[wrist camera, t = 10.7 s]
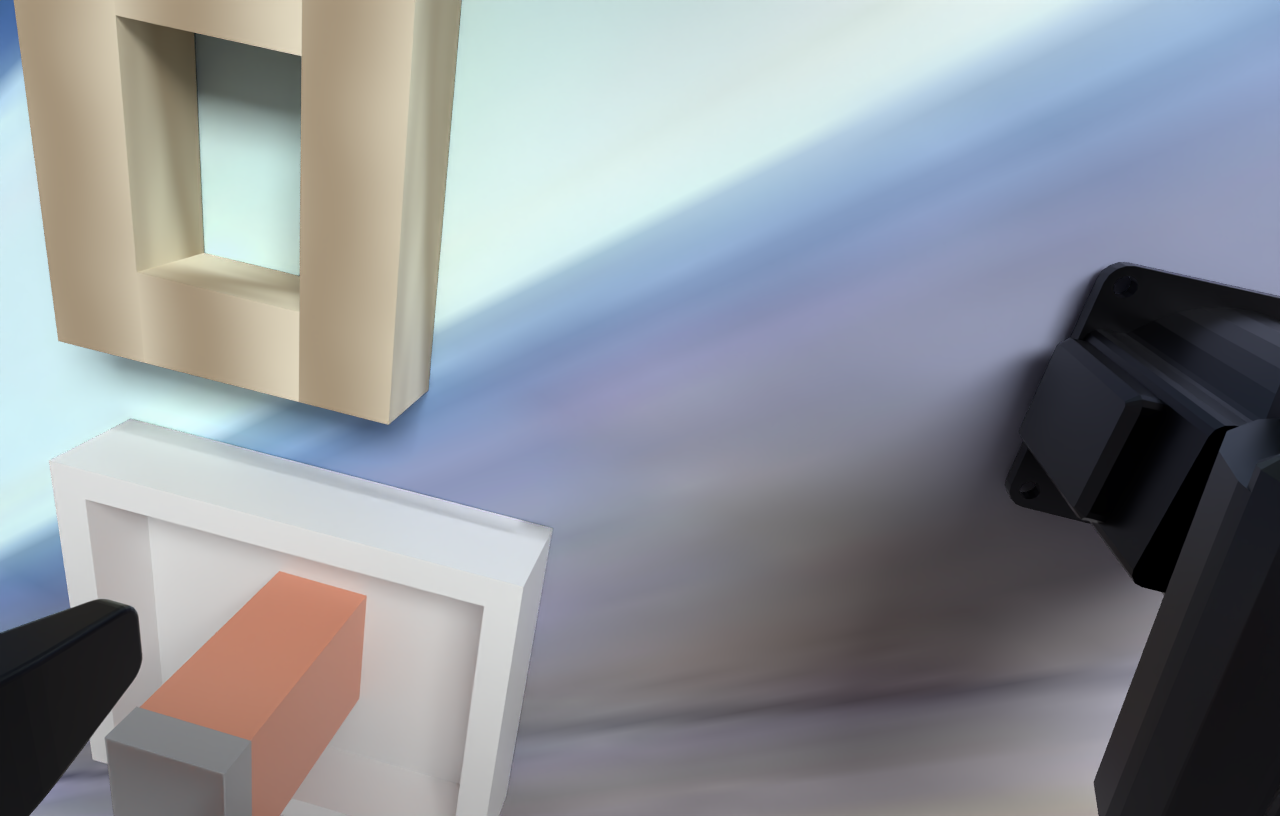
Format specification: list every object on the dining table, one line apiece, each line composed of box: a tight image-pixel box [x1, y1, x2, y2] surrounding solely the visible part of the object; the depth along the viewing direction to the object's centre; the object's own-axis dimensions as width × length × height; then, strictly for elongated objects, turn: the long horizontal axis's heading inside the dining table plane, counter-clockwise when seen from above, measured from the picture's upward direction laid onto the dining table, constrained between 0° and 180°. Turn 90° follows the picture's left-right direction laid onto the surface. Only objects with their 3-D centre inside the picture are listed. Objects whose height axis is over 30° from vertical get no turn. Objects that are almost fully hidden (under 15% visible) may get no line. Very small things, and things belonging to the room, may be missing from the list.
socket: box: [14, 0, 461, 425], centre depth 19 cm, size 9×11×2 cm
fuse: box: [104, 571, 367, 816], centre depth 22 cm, size 3×5×7 cm
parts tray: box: [49, 419, 553, 816], centre depth 25 cm, size 14×12×3 cm
